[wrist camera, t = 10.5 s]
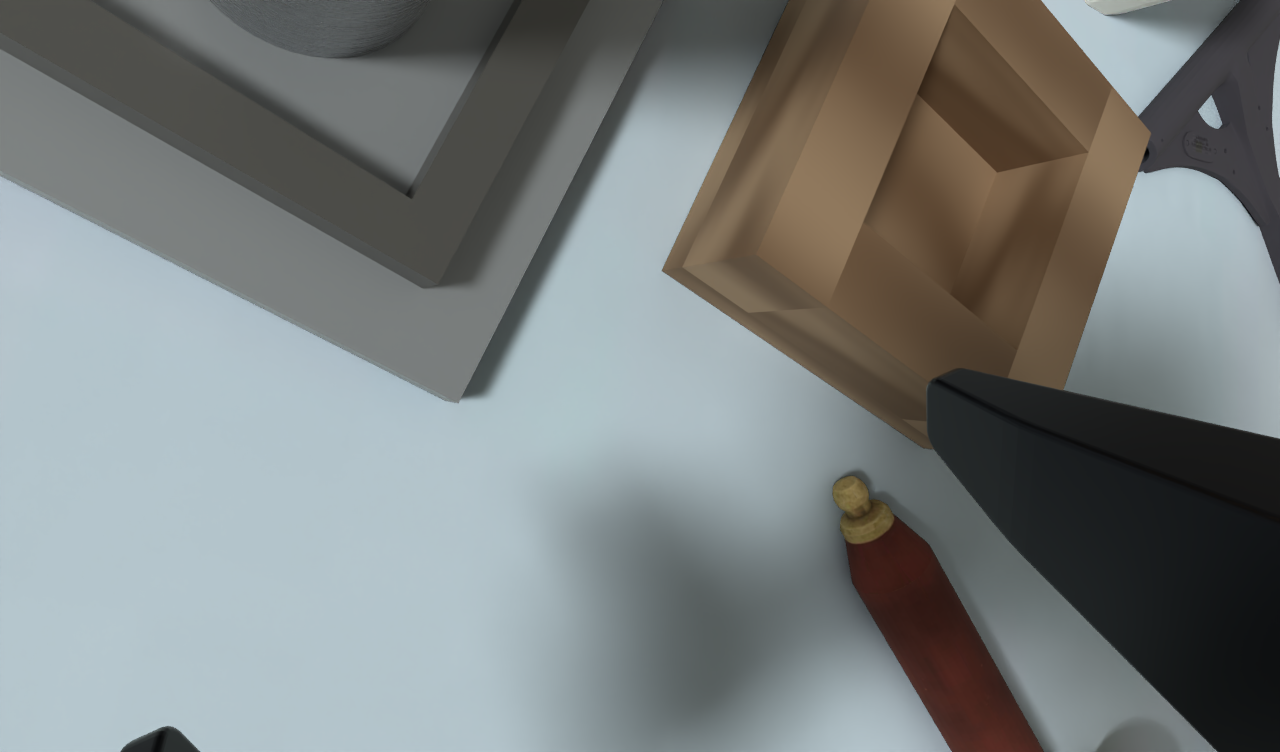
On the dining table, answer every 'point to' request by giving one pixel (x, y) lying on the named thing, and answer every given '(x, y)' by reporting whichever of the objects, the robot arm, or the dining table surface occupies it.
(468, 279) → the tray
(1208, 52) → the bracket
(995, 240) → the socket block
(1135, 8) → the white cylinder
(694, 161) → the dining table surface
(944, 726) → the gavel
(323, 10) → the gold-topped cylinder
